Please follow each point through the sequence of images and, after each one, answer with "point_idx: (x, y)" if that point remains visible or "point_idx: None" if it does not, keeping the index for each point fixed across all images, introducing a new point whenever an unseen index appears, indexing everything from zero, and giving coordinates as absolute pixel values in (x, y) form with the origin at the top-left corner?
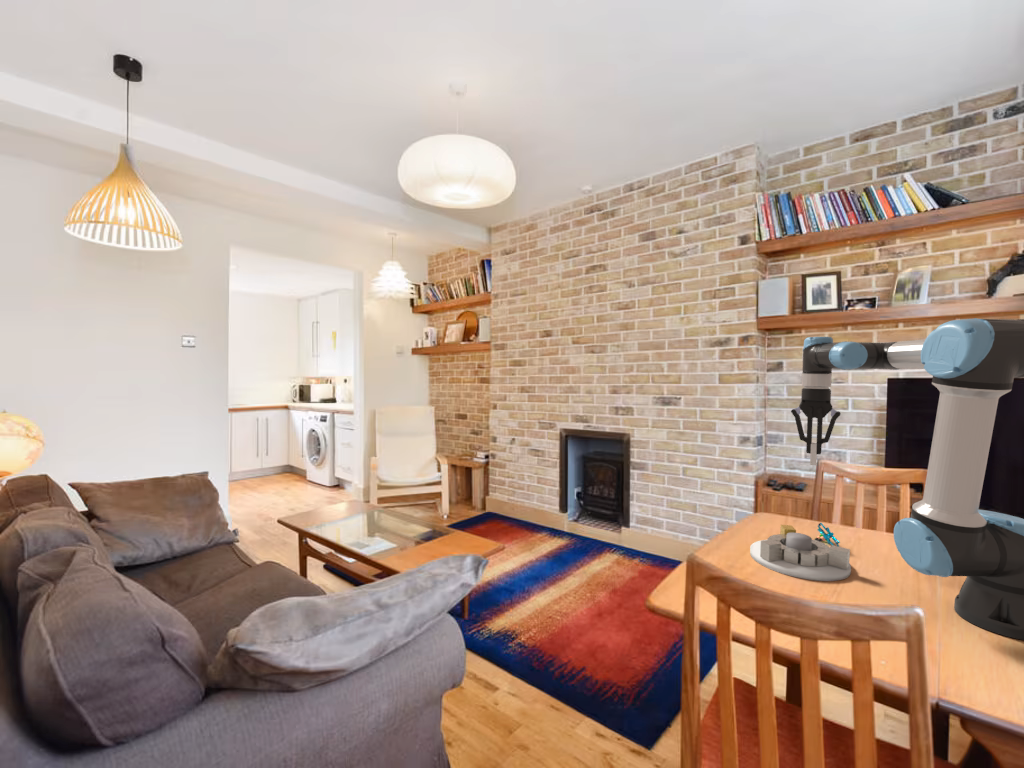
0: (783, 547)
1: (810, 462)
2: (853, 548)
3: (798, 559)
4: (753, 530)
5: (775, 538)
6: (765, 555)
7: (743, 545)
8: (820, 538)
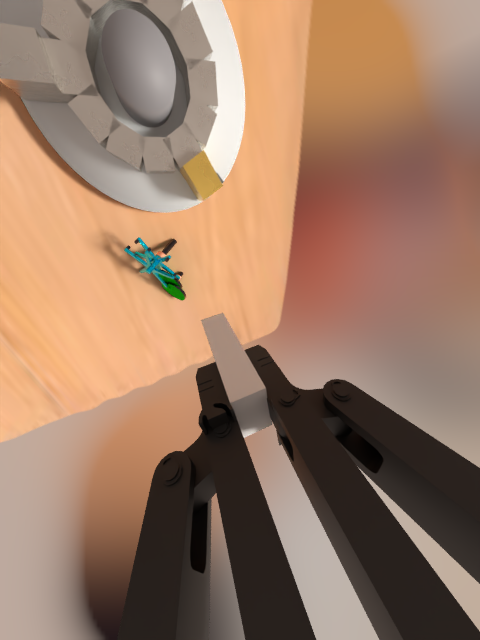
0: None
1: (224, 318)
2: (122, 286)
3: None
4: (269, 235)
5: (201, 83)
6: None
7: (259, 115)
8: (164, 253)
